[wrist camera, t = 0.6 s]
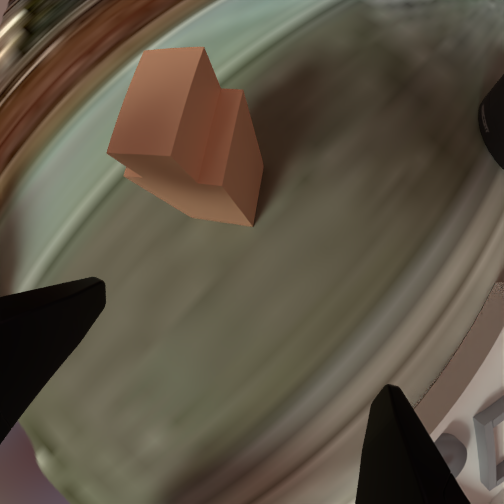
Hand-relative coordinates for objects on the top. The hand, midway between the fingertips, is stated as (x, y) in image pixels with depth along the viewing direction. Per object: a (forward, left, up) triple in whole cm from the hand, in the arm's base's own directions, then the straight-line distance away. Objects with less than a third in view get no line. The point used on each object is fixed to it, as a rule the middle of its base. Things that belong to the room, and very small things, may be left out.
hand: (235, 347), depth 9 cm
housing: (+3, -23, -13) cm, 26 cm away
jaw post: (+5, +7, -13) cm, 16 cm away
